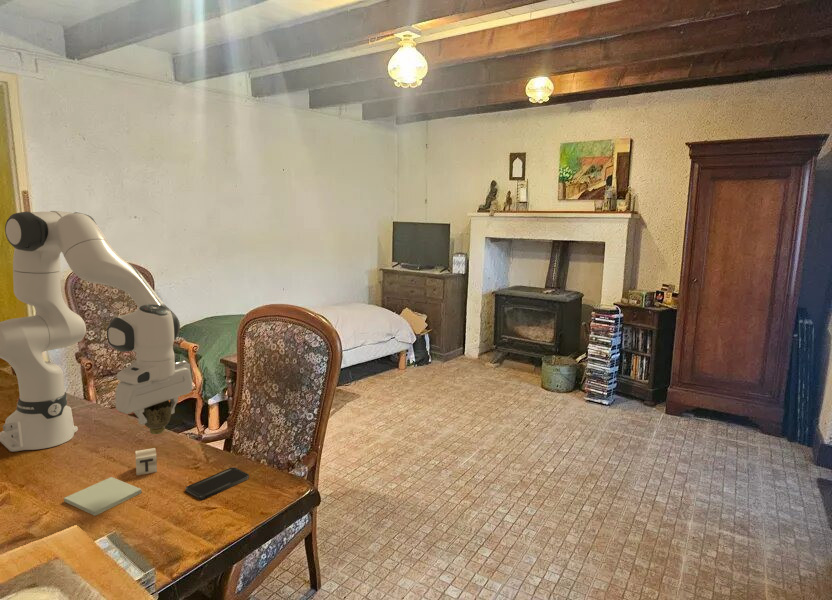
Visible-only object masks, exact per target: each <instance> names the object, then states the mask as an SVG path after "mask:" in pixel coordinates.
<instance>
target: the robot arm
mask: <svg viewBox="0 0 832 600" xmlns="http://www.w3.org/2000/svg"><path fill="white" fill-rule="evenodd" d="M97 224H98V223H96V221H95V219H94V218H93V217H92V216H90V215H88V214H86V213H81V212H70V211H69V212H68V211H59V210H50V211H31V212H30V211H20V212H15V213H12V214H11V215H10V216H9V217H8V219H6V222H5V225H4V232H5V237H6V239H7V242H8V244H10V245H11V246H12V247H13V248H14V250H13V251H14V252H13V258H12V259H13V260H12V273H13V275H12V276H13V279H12V280H13V283H12V284H13V294H14V296H15V297H16V299H17V300H19V301H20V302H22V303H24V304H27V305H29V306H33V308H34V310H35V315H32V316H23V317H18V318H17V317H15V318H9V319H6V320H3V321H0V359H2V360H3V361H5V362H7V364H9V366H11V367H12V369H13V371H14V372H15V373H14V374H16V378H17V379H16V380H17V384H18V385H17V386H18V392H19V397H16V402H17V403H16V409H15V411H13V412H12V413H11V414H10V415H9V416H7V417H6V418H5V423H4V424H3V425H2V431H0V443H1V444H2V445H3V446H4V447H5V448H6V449H7V450H8V451H9V452H19V451H21V452H22V451H31V450H32V451H33V450H35V451H36V450H41V449H42V450H43V449H48V448H52V447H56V446H59V445H62V444H65V443H67V442H68V441H70V440H71V439H73V438H74V436H75V433H76V432H77V431H78V430H79V428H78V426H77V425H74V418H73V411H72V408H71V406H69V405H68V396H67V392H66V391H65V375H64V370H63V369H62V368H61V366H59V365H58V364H56V363H53V362H50V361H46V360H45V359H44V356H43V353H45V352H48V351H52V350H53V351H54V350H57V349H63V348H67V347H70V346H72V345H75V344H77V343H80V342H82V341H83V339H84V338H85V336H86V333H87V325H86V322H85V320H84V319H83V318H82V316H81V315H79V314H78V313H76V312H74V311H72V309H70V308H69V306H68V305H67V303H66V302H65V300H64V297H63V293H62V282H61V281H62V280H61V262H60V261H61V259H60V258H61V253H62V255H63V257H64V259H65V261H66V263H67V265H68V267H69V268H70V270H71V272H73V274H74V275H75V276H77V277H78V278H79V279H81V280H83V281H85V282H88V283H91V284H96V285H103V286H108V287H112V288H116V289H119V290H121V291H123V292H124V293H126V294H128V295H129V296H130V297H131V300H132V301H133V302H134V304H136V306H137V307H138V308H137V309H136V310H134V311H132V312H130V313H127V314H124V315H123V314H122V315H118V316H117V317H113V318H112V319H111V320H110V322H109V323H108V325H107V329H106V339H107V341H108V344H109V345H110V346H111V347H112V348H113V349H115V350H116V351H117V352H121V353H122V352H124V353H125V352H127V353H128V352H135V353H136V357H135V359H136V361H134V362H133V363H131V364H130V365H128V366H126V367H125V368H123V369H121V370H120V371H118V372H117V374H116V379H117V380H118V381H119V382H118V383H117V385H116V388H115V394H114V395H115V397H114V398H115V402H114V403H115V410H117V411H118V412H119V413H123V414H126V415H128V414H129V415H130V414H132V413H134V414H135V416H136V417H137V419H138V424H139V425H142V426H143V425H145V424H146V423H148V419H147V417H144V415H143V412H144V408H147V407H150V406H152V405H155V404H158V403H161V402H164V401H167V400H169V402H170V401H171V402H172V410H171V415H174V414H175V413H176V412H175V409H176V406H177V404H178V402H179V398H180V397H181V396H184V395H185V396H186V395H188V394H190V393H191V392H192V390H193V378H192V374H191V364H190V362H188V361H186V360H180V361H177V362H175V352H174V348H173V346H174V344H175V343H174V342H175V340H176V339H177V337H178V335H179V333H180V328H181V325H180V324H181V323H180V320H179V318H178V316H177V315H176V314H175V312H173V311H172V310H171V308H169V307H168V305H166V304H165V303H164V302H163V301H162V299H161V298H160V296H158V293H156V292H155V290H154V288H152V286H151V285H150V283H149V282H148V281H147V279H146V278H145V277H144V276H143V275H142V273H141V272H140V271H139V270H138V269H137V268H136V267H135V266H134V265H133V264H131V263H130V262H127V261H126V259H124V258H122V257H121V256H120V254H119V253H117V252H116V251H115V250H114V248H113V247H112V246H111V244H110V242H109V241H108V239H107V237H106V235H105V234H104V232H103V231H102V230H101V229H100V227H99V226H98V225H97Z"/></svg>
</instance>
